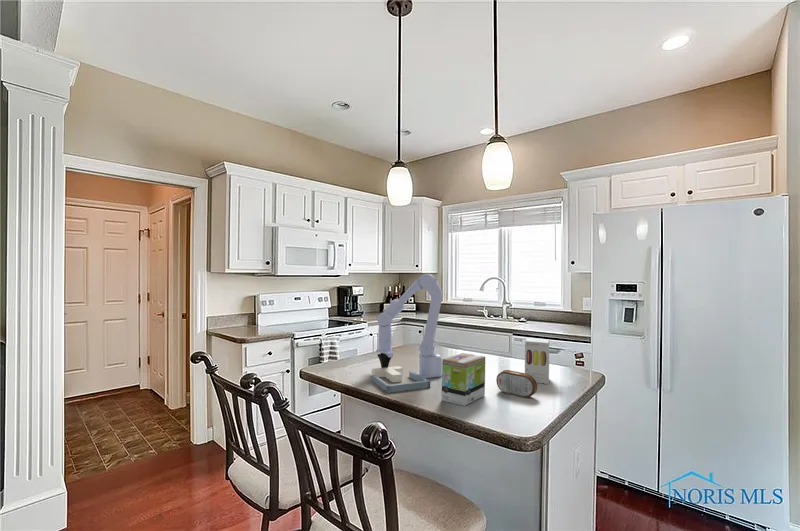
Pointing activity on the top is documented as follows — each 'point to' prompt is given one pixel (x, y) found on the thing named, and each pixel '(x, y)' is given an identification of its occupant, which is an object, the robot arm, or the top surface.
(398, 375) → the t block
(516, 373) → the tin
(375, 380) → the shallow grey tray
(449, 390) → the tea box
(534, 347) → the supplement box
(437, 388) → the top surface
